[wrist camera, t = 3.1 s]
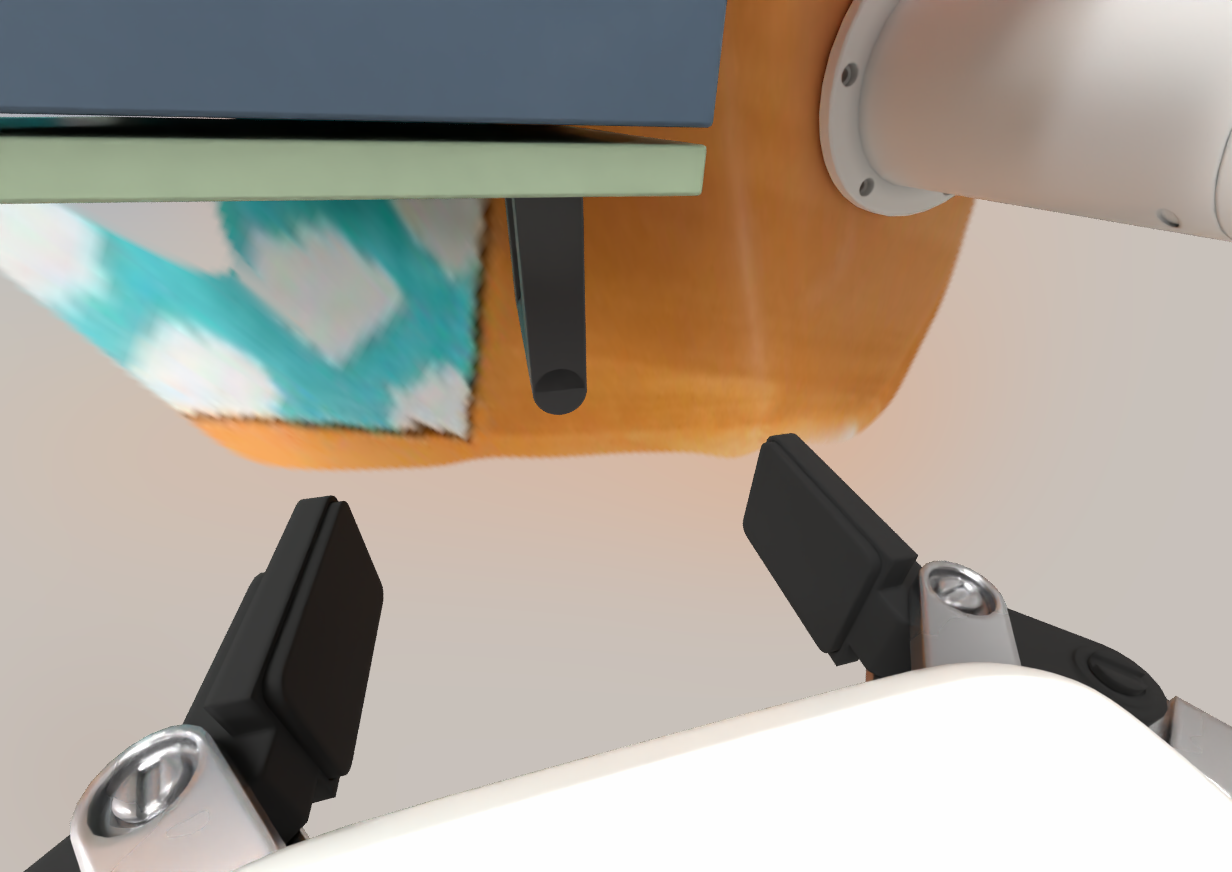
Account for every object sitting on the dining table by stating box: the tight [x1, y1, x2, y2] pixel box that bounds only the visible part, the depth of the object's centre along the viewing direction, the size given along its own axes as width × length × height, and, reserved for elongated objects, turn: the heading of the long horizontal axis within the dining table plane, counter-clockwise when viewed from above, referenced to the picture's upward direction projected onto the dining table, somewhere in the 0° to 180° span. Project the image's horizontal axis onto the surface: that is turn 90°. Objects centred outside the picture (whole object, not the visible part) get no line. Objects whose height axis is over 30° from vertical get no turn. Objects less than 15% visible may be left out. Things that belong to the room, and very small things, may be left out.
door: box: [0, 117, 706, 415], centre depth 15 cm, size 7×18×17 cm, turn 89°
